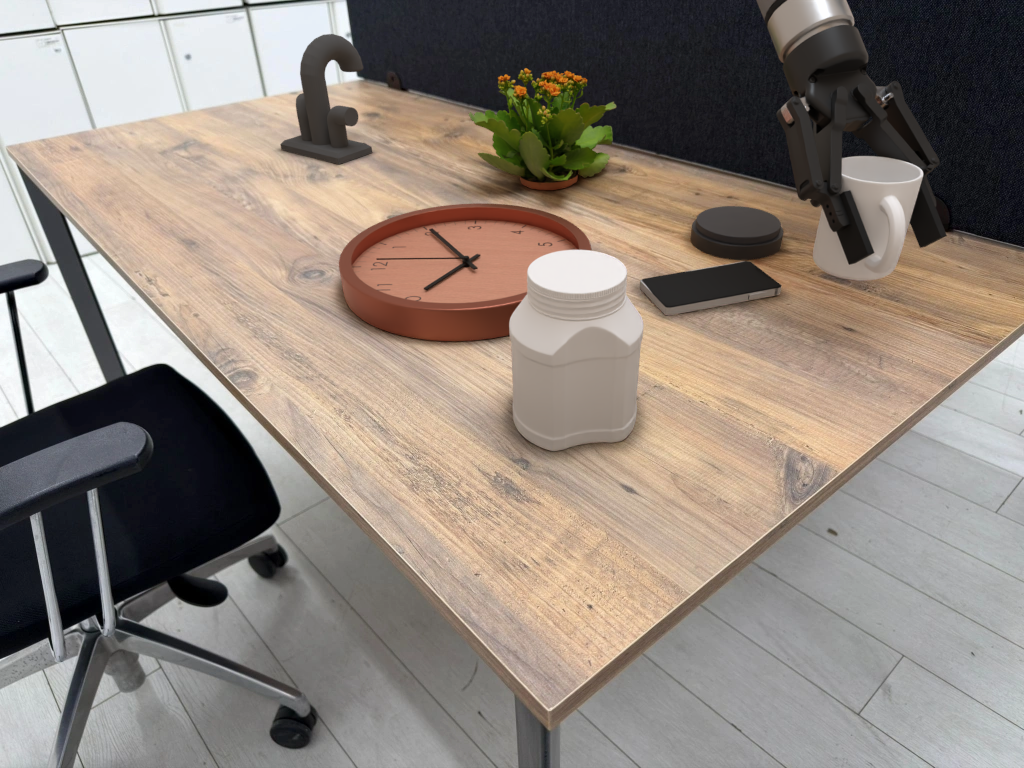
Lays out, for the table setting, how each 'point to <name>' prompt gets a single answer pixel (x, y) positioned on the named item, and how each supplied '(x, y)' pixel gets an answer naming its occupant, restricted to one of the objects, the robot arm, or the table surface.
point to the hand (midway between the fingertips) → (897, 250)
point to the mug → (872, 216)
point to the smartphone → (709, 287)
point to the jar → (575, 351)
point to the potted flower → (546, 132)
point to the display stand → (737, 233)
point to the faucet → (325, 105)
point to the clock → (450, 268)
